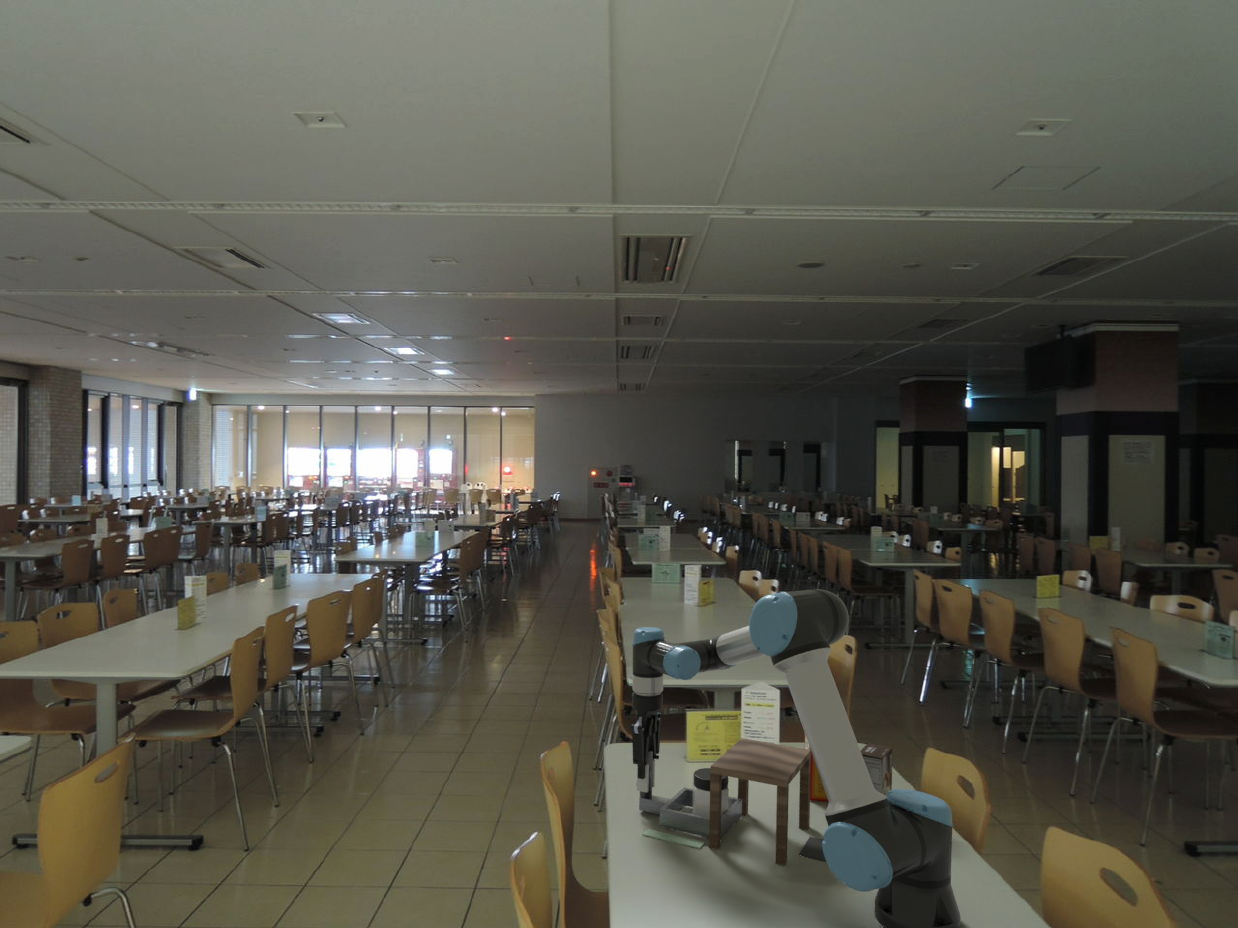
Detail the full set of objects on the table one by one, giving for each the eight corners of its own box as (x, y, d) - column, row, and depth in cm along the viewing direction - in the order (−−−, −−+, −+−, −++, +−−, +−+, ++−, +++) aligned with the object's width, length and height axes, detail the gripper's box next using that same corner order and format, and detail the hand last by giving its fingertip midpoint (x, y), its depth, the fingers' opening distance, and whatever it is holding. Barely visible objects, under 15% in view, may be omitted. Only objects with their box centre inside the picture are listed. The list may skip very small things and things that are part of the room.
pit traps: (862, 870, 173) (862, 868, 173) (798, 855, 179) (798, 854, 179) (870, 850, 182) (870, 849, 182) (809, 837, 188) (809, 836, 188)
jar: (705, 835, 188) (706, 783, 188) (684, 822, 195) (685, 771, 195) (735, 827, 193) (736, 776, 193) (714, 814, 200) (715, 765, 200)
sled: (720, 840, 185) (722, 777, 185) (626, 818, 195) (627, 759, 195) (741, 815, 198) (743, 757, 198) (652, 796, 209) (653, 741, 209)
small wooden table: (784, 865, 175) (786, 780, 175) (708, 847, 182) (710, 765, 182) (809, 826, 194) (810, 749, 195) (740, 811, 202) (741, 738, 202)
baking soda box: (803, 786, 219) (805, 726, 220) (828, 787, 219) (830, 727, 219) (808, 800, 210) (810, 737, 210) (834, 802, 209) (836, 738, 209)
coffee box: (865, 806, 207) (867, 742, 207) (892, 812, 204) (893, 747, 204) (855, 819, 199) (857, 752, 199) (882, 825, 196) (884, 757, 196)
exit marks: (700, 848, 182) (700, 847, 182) (642, 835, 188) (642, 833, 188) (736, 808, 204) (736, 807, 204) (683, 797, 210) (683, 796, 210)
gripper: (647, 682, 210) (645, 774, 210) (619, 697, 196) (617, 796, 196) (674, 686, 207) (672, 780, 207) (647, 701, 193) (646, 802, 192)
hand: (645, 788), depth 201 cm, fingers closed on sled, 3 cm apart
